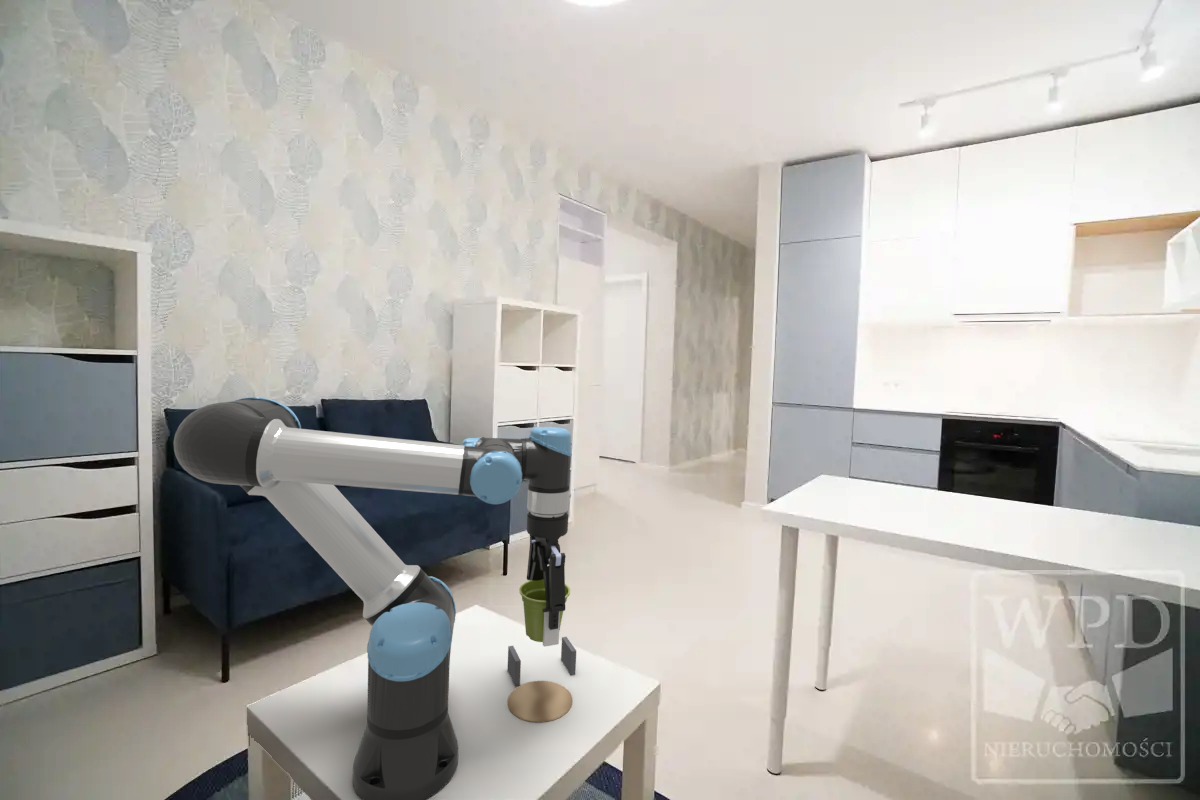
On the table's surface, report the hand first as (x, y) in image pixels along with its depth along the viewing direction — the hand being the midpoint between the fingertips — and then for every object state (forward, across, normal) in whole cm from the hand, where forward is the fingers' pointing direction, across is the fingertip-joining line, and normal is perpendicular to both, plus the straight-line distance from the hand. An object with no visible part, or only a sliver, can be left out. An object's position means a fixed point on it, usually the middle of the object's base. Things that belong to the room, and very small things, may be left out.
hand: (543, 632), depth 99 cm
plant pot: (+1, 0, 0) cm, 1 cm away
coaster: (+13, 0, 0) cm, 13 cm away
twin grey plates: (+13, +9, -3) cm, 16 cm away
